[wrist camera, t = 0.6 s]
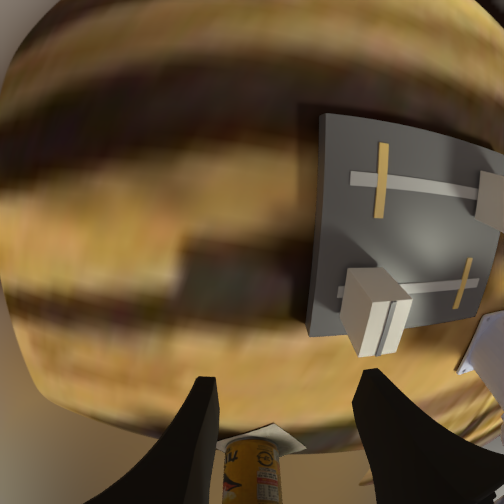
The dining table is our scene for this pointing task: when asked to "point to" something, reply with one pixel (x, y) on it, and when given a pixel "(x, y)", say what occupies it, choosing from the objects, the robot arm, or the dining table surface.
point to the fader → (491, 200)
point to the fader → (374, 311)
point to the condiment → (255, 465)
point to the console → (399, 219)
